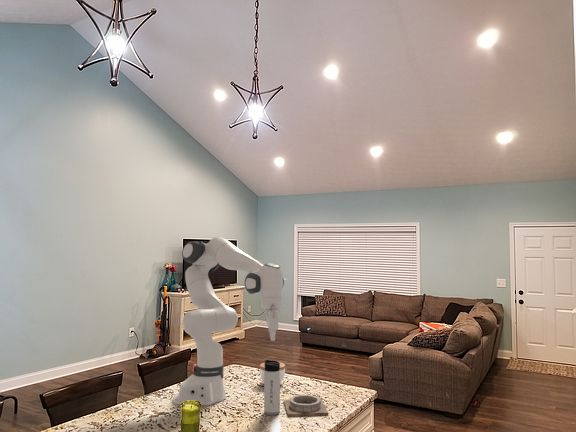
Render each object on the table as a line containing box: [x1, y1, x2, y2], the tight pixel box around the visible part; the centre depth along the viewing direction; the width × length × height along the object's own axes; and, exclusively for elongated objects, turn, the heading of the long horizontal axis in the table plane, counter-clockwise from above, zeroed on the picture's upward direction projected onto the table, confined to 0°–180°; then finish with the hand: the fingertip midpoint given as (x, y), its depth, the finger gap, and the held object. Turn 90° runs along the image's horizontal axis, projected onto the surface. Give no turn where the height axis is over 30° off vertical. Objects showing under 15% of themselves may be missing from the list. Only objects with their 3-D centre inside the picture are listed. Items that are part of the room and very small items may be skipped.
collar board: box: [283, 394, 329, 418], centre depth 175 cm, size 16×16×4 cm
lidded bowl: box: [259, 361, 286, 384], centre depth 209 cm, size 13×13×11 cm
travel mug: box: [263, 359, 281, 416], centre depth 171 cm, size 6×7×20 cm
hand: (271, 338), depth 173 cm, fingers open, 8 cm apart
